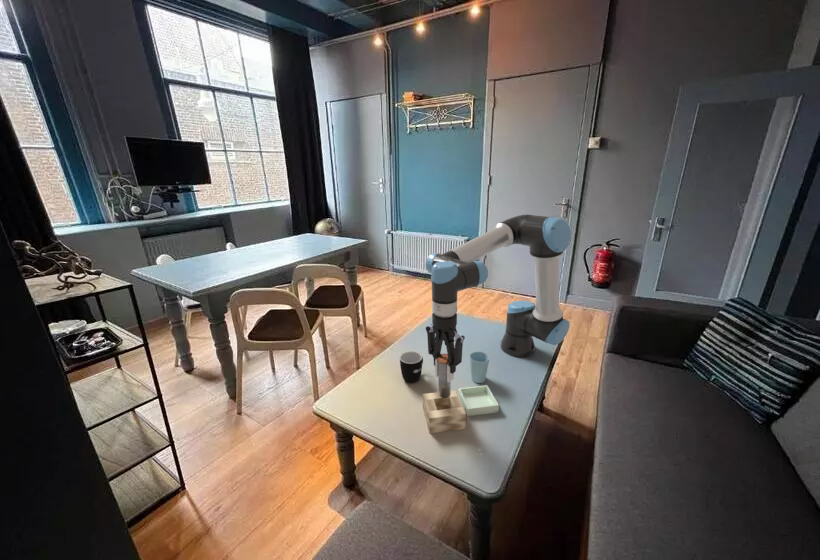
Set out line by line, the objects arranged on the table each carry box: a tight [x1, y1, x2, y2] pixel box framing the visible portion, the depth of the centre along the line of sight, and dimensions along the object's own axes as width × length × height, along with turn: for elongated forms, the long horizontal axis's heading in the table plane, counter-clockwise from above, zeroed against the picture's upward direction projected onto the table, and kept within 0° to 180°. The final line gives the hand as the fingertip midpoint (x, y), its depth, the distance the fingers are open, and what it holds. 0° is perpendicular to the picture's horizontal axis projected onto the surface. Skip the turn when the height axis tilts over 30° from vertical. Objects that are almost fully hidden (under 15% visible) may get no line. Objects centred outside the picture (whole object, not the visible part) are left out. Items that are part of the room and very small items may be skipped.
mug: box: [399, 351, 424, 384], centre depth 132 cm, size 12×9×10 cm
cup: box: [469, 351, 490, 384], centre depth 130 cm, size 8×8×10 cm
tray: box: [457, 384, 500, 417], centre depth 118 cm, size 11×11×3 cm
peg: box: [437, 353, 452, 398], centre depth 106 cm, size 4×4×14 cm
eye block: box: [422, 389, 467, 434], centre depth 111 cm, size 12×12×6 cm
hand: (444, 377), depth 107 cm, fingers closed on peg, 4 cm apart
